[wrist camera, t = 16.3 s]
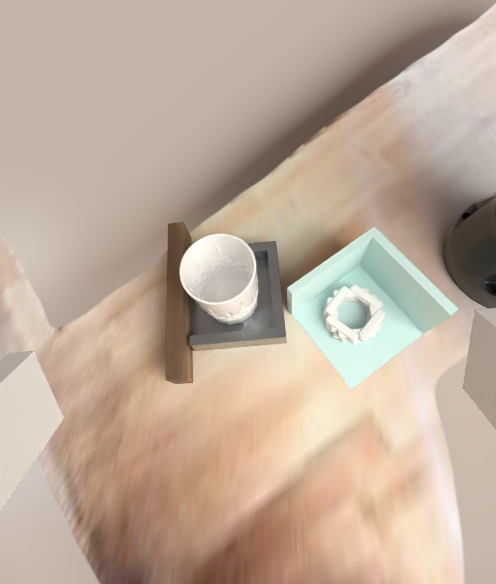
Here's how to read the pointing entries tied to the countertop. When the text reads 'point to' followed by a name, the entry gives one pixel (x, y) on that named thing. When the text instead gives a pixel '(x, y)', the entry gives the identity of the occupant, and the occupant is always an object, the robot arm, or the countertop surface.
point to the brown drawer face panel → (178, 310)
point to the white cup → (221, 277)
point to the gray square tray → (256, 328)
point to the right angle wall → (366, 305)
